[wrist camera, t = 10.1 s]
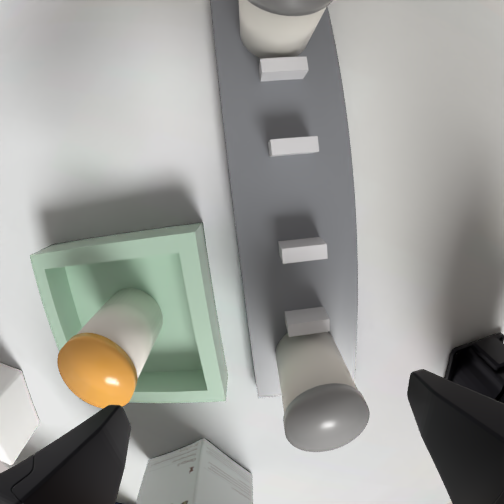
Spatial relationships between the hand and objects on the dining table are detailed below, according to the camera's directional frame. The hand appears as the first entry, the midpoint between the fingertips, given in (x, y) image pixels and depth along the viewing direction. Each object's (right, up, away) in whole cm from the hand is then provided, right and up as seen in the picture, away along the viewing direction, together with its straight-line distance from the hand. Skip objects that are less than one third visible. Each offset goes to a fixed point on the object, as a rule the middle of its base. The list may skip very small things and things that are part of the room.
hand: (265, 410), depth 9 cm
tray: (-8, 0, +12) cm, 15 cm away
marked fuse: (-8, 0, +12) cm, 14 cm away
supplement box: (-5, -16, +17) cm, 24 cm away
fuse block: (+2, +8, +10) cm, 13 cm away
